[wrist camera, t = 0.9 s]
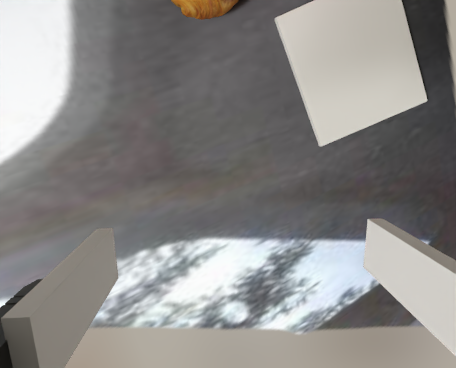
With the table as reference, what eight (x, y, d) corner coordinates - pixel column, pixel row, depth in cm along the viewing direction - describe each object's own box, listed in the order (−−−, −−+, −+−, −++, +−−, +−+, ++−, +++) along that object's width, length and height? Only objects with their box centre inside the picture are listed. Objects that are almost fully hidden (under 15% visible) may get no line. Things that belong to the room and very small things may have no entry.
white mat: (274, 19, 37) (275, 17, 37) (388, -32, 37) (392, -35, 36) (319, 146, 41) (321, 146, 40) (423, 101, 41) (427, 100, 40)
